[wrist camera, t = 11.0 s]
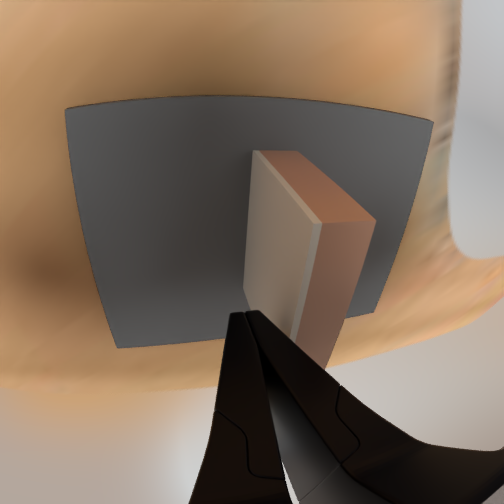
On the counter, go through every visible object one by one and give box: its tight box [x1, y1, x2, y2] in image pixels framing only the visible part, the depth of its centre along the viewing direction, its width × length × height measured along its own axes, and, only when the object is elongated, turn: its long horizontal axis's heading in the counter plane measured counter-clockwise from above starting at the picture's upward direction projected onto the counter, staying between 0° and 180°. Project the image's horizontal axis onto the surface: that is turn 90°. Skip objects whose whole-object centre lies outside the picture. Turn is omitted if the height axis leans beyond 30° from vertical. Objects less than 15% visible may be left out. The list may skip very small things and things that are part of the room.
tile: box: [243, 150, 376, 370], centre depth 10 cm, size 2×6×5 cm, turn 176°
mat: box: [65, 95, 434, 348], centre depth 13 cm, size 14×11×1 cm
